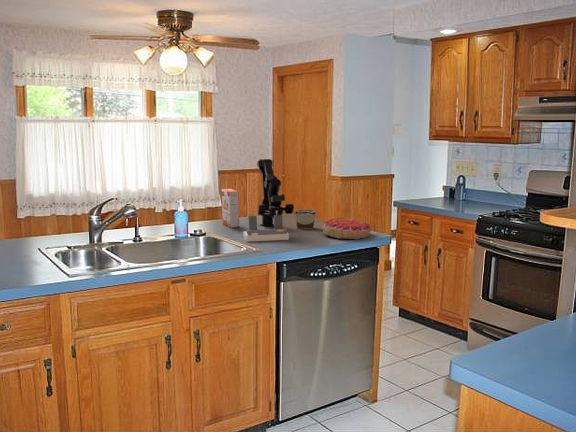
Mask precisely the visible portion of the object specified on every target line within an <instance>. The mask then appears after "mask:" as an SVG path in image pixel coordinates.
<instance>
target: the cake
mask: <svg viewBox="0 0 576 432" xmlns="http://www.w3.org/2000/svg"><path fill="white" fill-rule="evenodd" d="M371 230H372V227H371V226H370V225H369V223H366V222H363V221H359V220H354V219H350V218H349V219H346V218H342V219H341V218H331V219H329V220H326V221H324V223H323V226H322V232H323V233H324V234H325V235H326V236H329V237H331V238H336V239H337V240H340V239H344V240H346V239H348V240H360V239H365V238H368V237H370V235H371Z"/></svg>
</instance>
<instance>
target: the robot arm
mask: <svg viewBox="0 0 576 432" xmlns="http://www.w3.org/2000/svg"><path fill="white" fill-rule="evenodd" d="M273 162H274V161H273V159H271V158H266V159H265V158H263V159H259V160H257V162H256V166H257V168H258V172H259V173H260V175H261V183H262V195H263V196H262V197H263V200H262V201H261V203H260V204H259V205H258V206H257V215H259V216H261V223H260V226H261V227H266V228H267V227H274V215H282V216H283V213H285V214H286V215H287V214H289V215H292V214H293V213H294V209H295V207H294V206H295V205H294V204H293V203H285V206H282V202H284V201H286V197H285V193H284V194H280V195H279V192H280V189H281V187H282V181H281V180H280V179H279V178H278V177H277V176H276V175H275V174H274V169H273V167H274V166H273V165H274V163H273Z"/></svg>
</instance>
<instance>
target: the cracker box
mask: <svg viewBox="0 0 576 432" xmlns="http://www.w3.org/2000/svg"><path fill="white" fill-rule="evenodd" d="M239 199H240V197H239V191H238V190H235V189H233V188H222V189H221V206H222V207H221V208H222V209H221V210H222V224H223V225H225V226H227V227H229V228H231V229H233V228H240V200H239Z"/></svg>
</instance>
